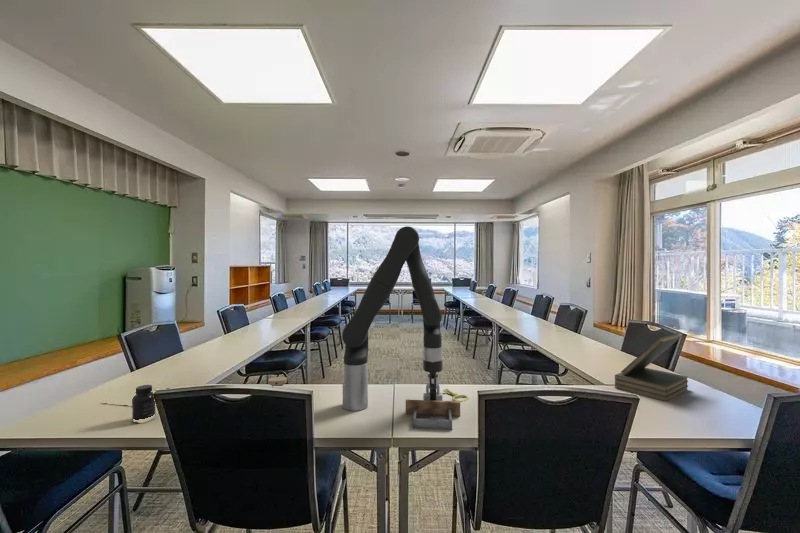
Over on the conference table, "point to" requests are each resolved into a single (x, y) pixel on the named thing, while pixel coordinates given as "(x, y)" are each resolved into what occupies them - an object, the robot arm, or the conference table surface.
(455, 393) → the key
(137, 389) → the supplement bottle
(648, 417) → the conference table surface
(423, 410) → the door strip
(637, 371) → the dark grey angled piece
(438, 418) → the grey metal tray
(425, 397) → the padlock
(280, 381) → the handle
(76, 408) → the conference table surface
